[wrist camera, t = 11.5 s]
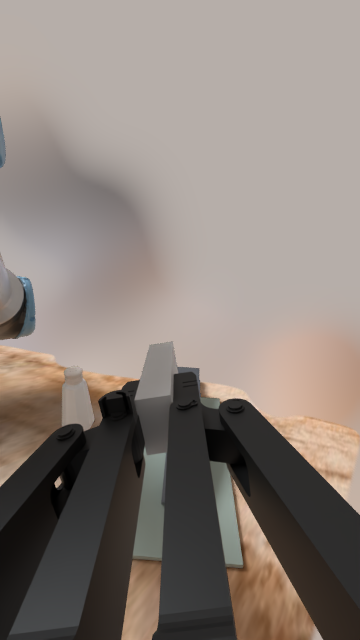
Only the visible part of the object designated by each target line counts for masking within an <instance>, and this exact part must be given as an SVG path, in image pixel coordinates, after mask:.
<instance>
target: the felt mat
mask: <svg viewBox="0 0 360 640" xmlns="http://www.w3.org/2000/svg"><path fill="white" fill-rule="evenodd" d="M201 403H202V404H203V405H204V406H206V407H209V408H214V409H218V408H219V405H220V400H219V399H217V398H205V397H201ZM143 454H144V458H145V464H146V465H145V472H144V479H143V487H142V494H141V501H140V508H139V515H138V522H137V529H136V536H135V543H134V551H133V559H144V560H155V561H162V546H163V526H164V506H165V505H161V500H162V489H163V479H164V468H165V458H166V453H160V454H153V455H147V453H146V449H145V447H144V453H143ZM210 465H211V472H212V479H213V485H214V492H215V498H216V505H217V511H218V518H219V524H220V531H221V537H222V544H223V550H224V557H225V563H226V567H234V568H243V560H242V553H241V546H240V539H239V532H238V525H237V518H236V511H235V504H234V497H233V490H232V483H231V477H230V472H229V470H228V468H227V465H226V463H221V462H213V461H210Z"/></svg>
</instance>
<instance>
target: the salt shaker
mask: <svg viewBox="0 0 360 640" xmlns="http://www.w3.org/2000/svg"><path fill="white" fill-rule="evenodd" d="M82 371H83V370H82V369H81V368H80V367H78V366H73V367H69V368H67V369H66V370H65V371H64V375H65V383H64V384H63V385H62V427H63V426H65V425H68V424H80V425H81V426H83V429H84V431H86V430H88V429H90V428H91V426H92V424H93V422H94V420H95V419H94V414H93V409H92V405H91V400H90V396H89V391H88V386H87V383H86V381H85V380H84V379H83V378H82V377H83V376H82Z"/></svg>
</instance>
